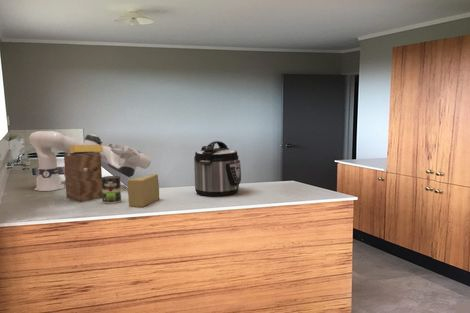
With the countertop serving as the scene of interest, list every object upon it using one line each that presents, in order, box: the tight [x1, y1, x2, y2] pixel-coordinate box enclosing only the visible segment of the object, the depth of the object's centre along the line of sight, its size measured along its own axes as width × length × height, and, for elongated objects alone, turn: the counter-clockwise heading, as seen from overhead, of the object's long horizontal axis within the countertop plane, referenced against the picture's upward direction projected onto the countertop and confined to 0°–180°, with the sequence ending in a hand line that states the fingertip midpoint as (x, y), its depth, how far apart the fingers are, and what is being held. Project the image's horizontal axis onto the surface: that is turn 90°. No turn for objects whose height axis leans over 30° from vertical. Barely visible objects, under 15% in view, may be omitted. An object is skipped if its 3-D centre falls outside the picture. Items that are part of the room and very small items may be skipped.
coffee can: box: [101, 175, 122, 204], centre depth 249 cm, size 10×10×14 cm
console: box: [63, 152, 103, 203], centre depth 260 cm, size 14×19×27 cm
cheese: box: [127, 173, 160, 208], centre depth 244 cm, size 22×10×15 cm, turn 157°
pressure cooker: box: [193, 140, 242, 197], centre depth 268 cm, size 30×28×32 cm
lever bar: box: [70, 144, 104, 153], centre depth 263 cm, size 22×4×4 cm, turn 152°
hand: (112, 145), depth 277 cm, fingers open, 8 cm apart
